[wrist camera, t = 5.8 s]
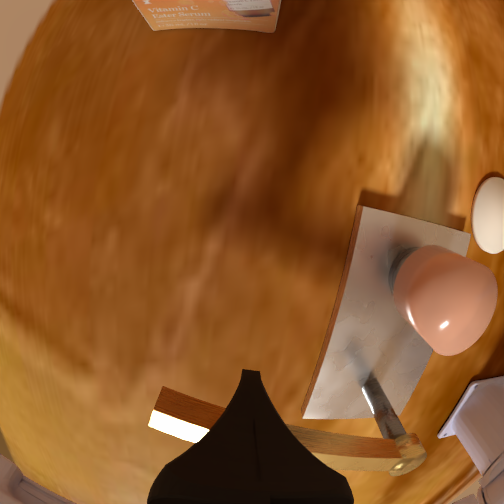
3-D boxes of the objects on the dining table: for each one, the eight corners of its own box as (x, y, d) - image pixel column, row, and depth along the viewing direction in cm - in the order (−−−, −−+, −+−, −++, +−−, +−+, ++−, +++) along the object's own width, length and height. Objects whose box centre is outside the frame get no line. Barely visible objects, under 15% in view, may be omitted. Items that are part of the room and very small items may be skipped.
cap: (464, 251, 14) (507, 270, 10) (442, 323, 15) (476, 354, 12) (405, 238, 14) (448, 257, 10) (382, 319, 15) (413, 356, 11)
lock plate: (462, 231, 17) (530, 255, 10) (395, 408, 21) (425, 463, 14) (357, 204, 17) (416, 221, 10) (301, 410, 20) (313, 479, 14)
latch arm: (424, 433, 13) (434, 451, 11) (400, 457, 13) (408, 475, 12) (166, 376, 11) (155, 400, 10) (155, 409, 12) (146, 433, 10)
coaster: (518, 188, 16) (521, 189, 16) (505, 257, 17) (508, 258, 17) (477, 167, 16) (480, 167, 15) (464, 245, 17) (467, 247, 17)
